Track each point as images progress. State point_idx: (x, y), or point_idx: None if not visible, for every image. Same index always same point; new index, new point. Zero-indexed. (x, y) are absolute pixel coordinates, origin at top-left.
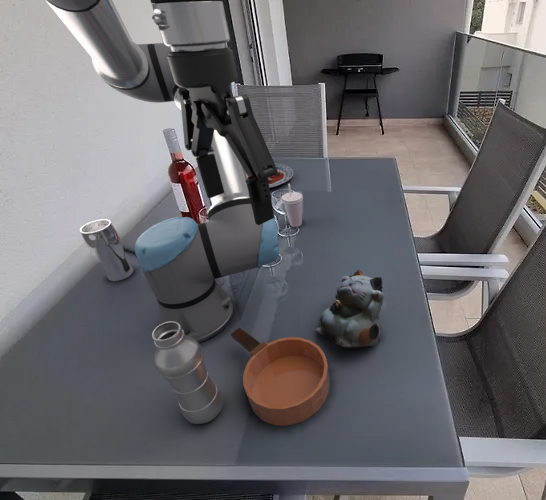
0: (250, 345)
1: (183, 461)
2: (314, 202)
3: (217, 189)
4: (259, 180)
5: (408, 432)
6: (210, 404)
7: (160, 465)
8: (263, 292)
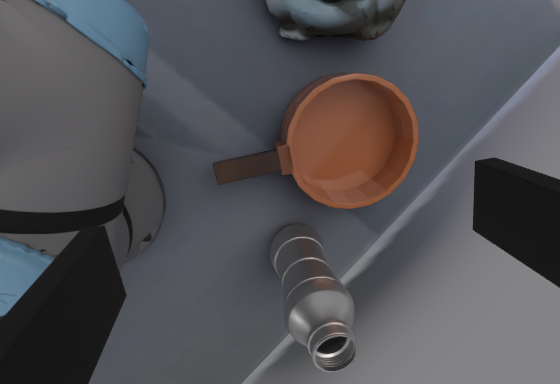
0: (267, 167)
1: None
2: None
3: (104, 267)
4: None
5: (507, 46)
6: (324, 250)
7: None
8: None
